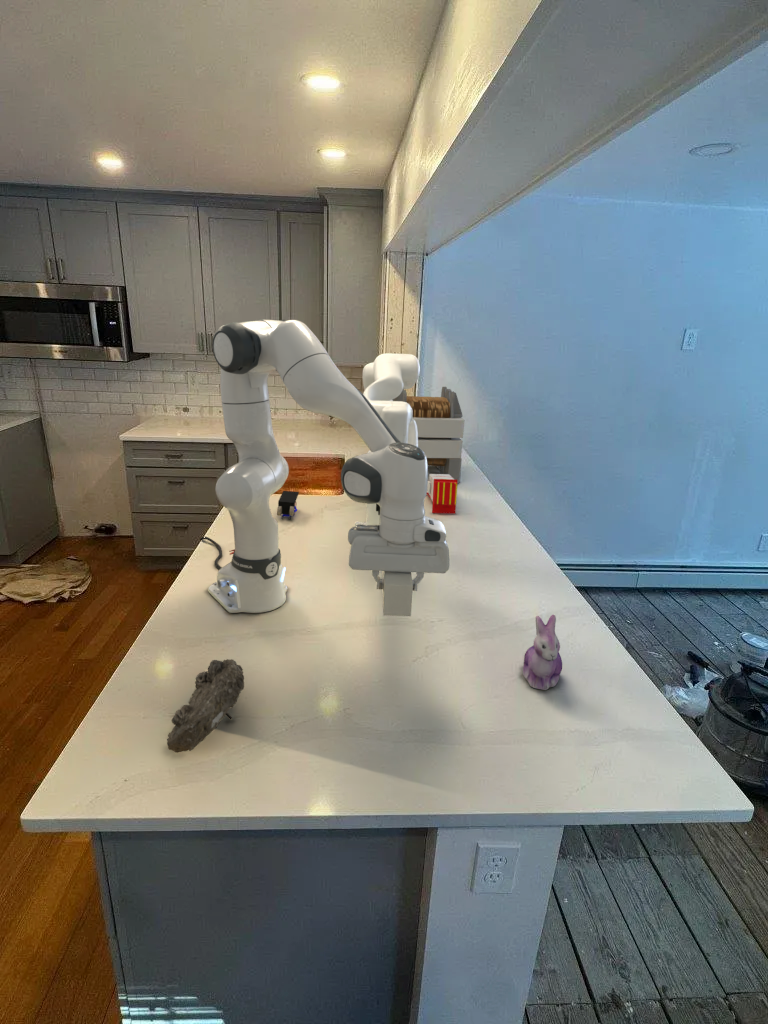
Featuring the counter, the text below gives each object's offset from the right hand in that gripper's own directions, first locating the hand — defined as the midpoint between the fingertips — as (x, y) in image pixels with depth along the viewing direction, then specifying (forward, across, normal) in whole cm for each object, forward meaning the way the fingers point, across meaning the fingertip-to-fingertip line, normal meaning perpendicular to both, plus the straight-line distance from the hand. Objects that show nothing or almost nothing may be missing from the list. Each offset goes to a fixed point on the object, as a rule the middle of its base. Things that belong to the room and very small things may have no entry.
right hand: (390, 513), depth 161 cm
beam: (+2, 0, -24) cm, 24 cm away
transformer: (+21, +18, +113) cm, 116 cm away
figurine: (+19, +33, -48) cm, 61 cm away
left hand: (-1, 0, -47) cm, 47 cm away
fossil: (+19, -35, -63) cm, 74 cm away
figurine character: (+20, -36, +49) cm, 64 cm away
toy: (+21, +23, +70) cm, 76 cm away
